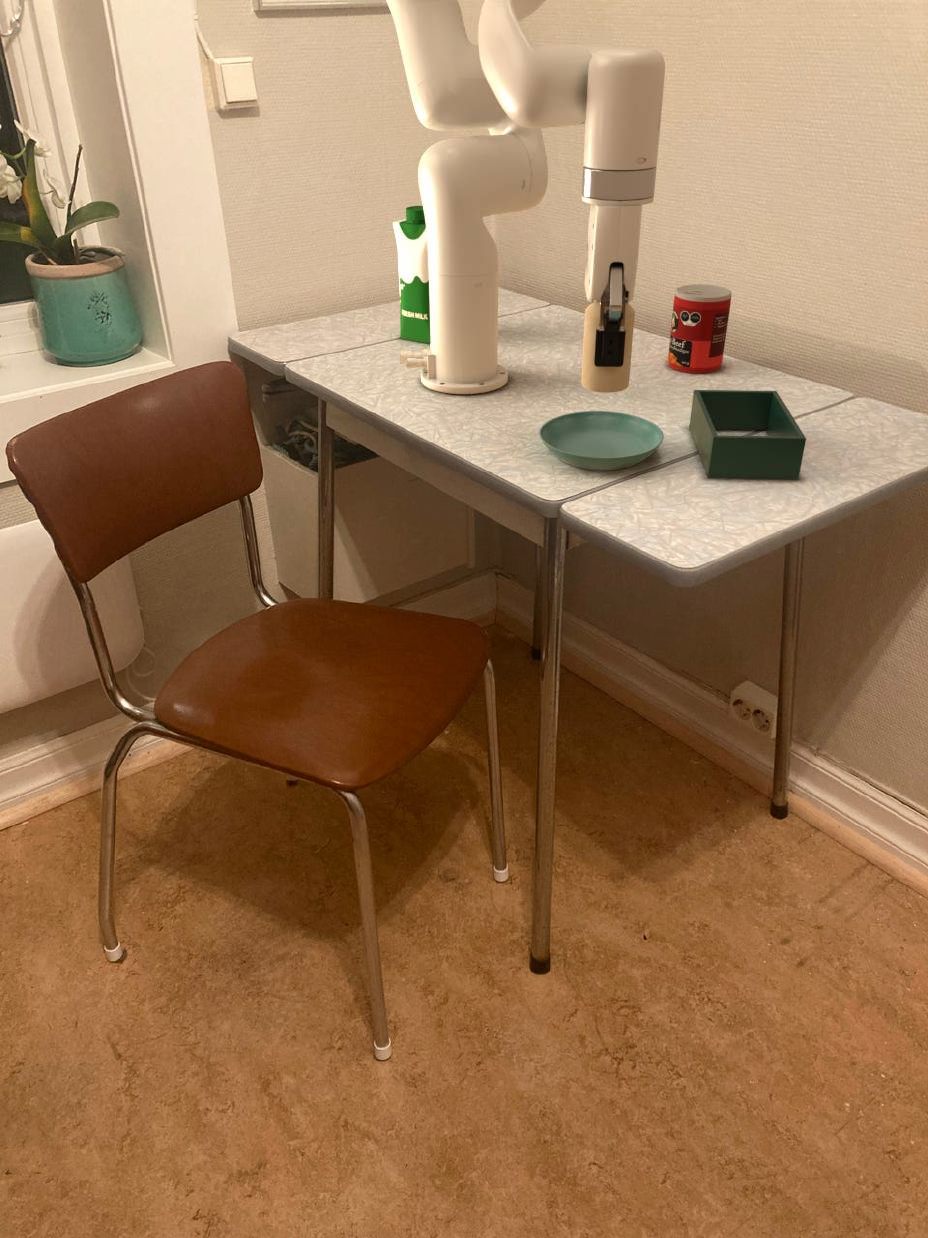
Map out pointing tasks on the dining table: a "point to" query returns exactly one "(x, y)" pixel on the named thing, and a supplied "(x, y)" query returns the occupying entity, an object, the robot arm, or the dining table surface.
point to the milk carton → (413, 275)
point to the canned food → (699, 328)
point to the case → (746, 453)
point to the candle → (591, 374)
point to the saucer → (601, 439)
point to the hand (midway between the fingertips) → (606, 355)
